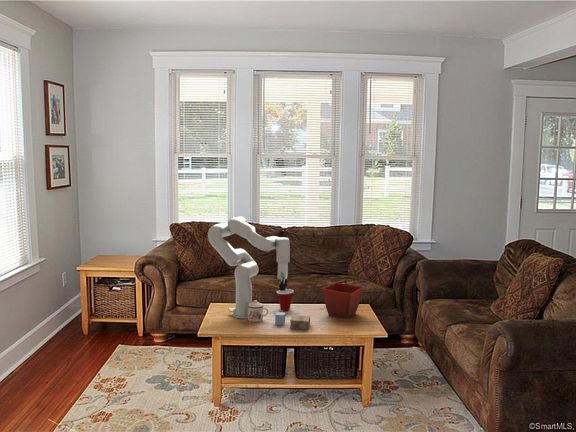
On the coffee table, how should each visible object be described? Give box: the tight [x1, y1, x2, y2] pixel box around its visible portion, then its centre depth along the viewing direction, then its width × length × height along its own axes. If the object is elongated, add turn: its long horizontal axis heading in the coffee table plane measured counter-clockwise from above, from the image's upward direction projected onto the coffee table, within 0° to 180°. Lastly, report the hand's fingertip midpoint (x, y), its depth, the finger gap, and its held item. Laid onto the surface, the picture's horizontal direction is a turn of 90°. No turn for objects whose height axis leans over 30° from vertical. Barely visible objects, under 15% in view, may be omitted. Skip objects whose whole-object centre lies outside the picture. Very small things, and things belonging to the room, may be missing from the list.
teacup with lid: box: [247, 299, 269, 323], centre depth 314 cm, size 12×9×12 cm
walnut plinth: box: [289, 314, 311, 331], centre depth 304 cm, size 10×10×5 cm
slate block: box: [274, 311, 286, 326], centre depth 308 cm, size 5×5×6 cm
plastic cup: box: [276, 288, 294, 311], centre depth 337 cm, size 11×11×12 cm
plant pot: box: [321, 282, 364, 319], centre depth 328 cm, size 19×19×17 cm
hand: (283, 288), depth 309 cm, fingers open, 9 cm apart
